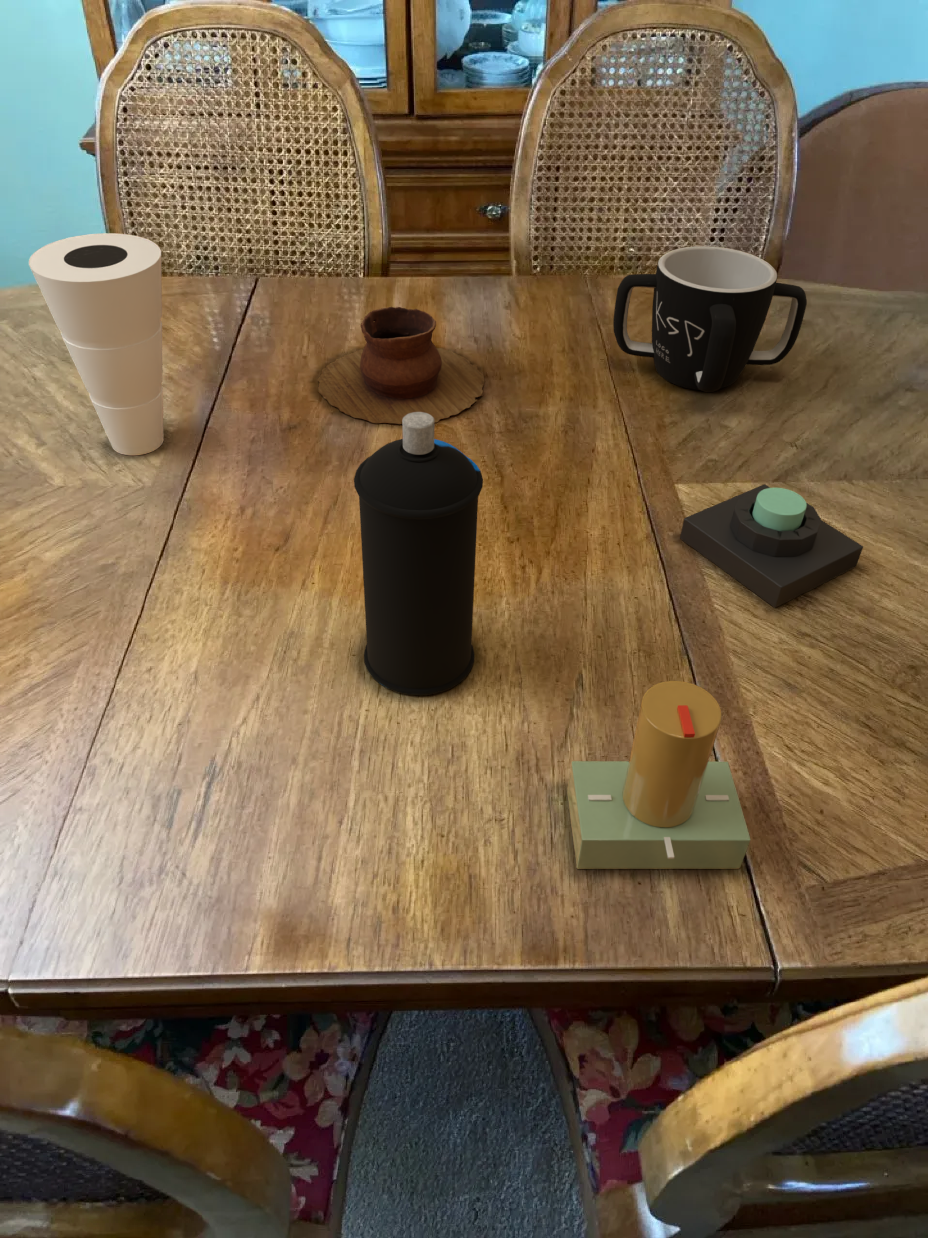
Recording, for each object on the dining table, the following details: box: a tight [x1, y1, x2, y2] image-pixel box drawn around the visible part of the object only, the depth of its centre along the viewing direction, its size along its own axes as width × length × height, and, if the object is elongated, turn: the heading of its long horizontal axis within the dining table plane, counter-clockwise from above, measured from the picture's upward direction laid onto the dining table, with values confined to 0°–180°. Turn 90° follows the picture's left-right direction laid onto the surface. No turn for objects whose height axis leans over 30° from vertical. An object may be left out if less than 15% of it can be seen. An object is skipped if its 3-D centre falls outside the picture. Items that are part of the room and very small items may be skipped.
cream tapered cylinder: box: [28, 232, 164, 456], centre depth 87 cm, size 11×11×18 cm
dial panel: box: [566, 760, 752, 870], centre depth 60 cm, size 10×9×3 cm
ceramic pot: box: [316, 306, 486, 425], centre depth 101 cm, size 18×18×7 cm
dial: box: [622, 680, 723, 828], centre depth 56 cm, size 4×4×8 cm
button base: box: [679, 483, 864, 609], centre depth 81 cm, size 11×10×4 cm
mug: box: [612, 245, 808, 393], centre depth 103 cm, size 16×16×12 cm
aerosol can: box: [353, 412, 484, 696], centre depth 65 cm, size 8×8×20 cm
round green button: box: [752, 487, 807, 531], centre depth 80 cm, size 4×4×2 cm
